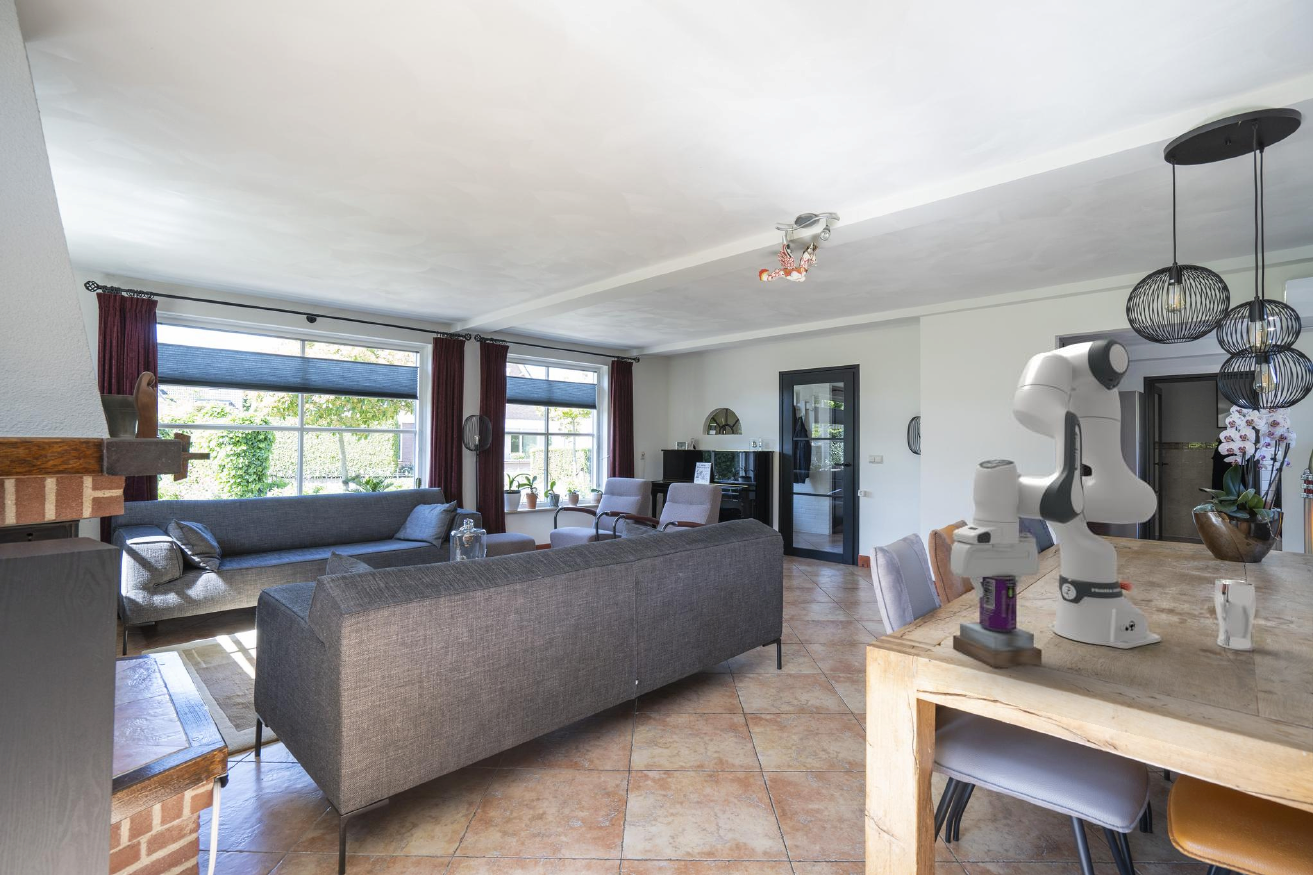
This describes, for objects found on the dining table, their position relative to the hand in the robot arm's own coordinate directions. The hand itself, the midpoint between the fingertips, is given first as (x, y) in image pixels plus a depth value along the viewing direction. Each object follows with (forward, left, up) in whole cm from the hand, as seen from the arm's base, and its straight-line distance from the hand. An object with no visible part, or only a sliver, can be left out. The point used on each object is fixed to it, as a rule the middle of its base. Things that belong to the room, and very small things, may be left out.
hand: (995, 596), depth 131 cm
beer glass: (-60, +6, -13) cm, 62 cm away
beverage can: (0, 0, -7) cm, 7 cm away
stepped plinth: (0, 0, -13) cm, 13 cm away
